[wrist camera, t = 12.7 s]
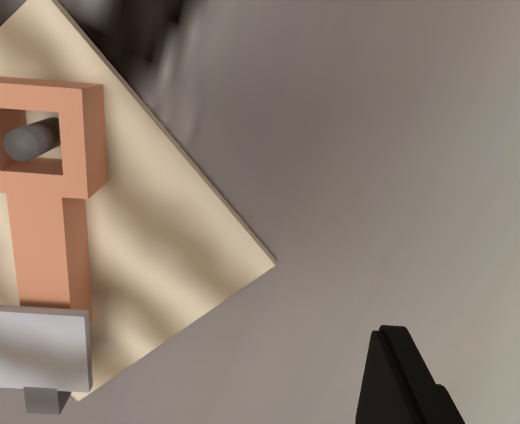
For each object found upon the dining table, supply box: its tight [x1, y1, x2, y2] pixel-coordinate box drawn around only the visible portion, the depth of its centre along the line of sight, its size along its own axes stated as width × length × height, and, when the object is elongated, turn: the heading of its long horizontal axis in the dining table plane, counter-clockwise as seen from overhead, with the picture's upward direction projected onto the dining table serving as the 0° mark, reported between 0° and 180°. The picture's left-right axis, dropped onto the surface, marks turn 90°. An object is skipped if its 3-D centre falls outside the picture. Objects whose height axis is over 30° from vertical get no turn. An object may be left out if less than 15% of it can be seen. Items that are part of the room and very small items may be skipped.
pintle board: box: [0, 0, 275, 415], centre depth 32 cm, size 22×25×7 cm
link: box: [0, 76, 107, 325], centre depth 32 cm, size 19×7×4 cm, turn 176°
